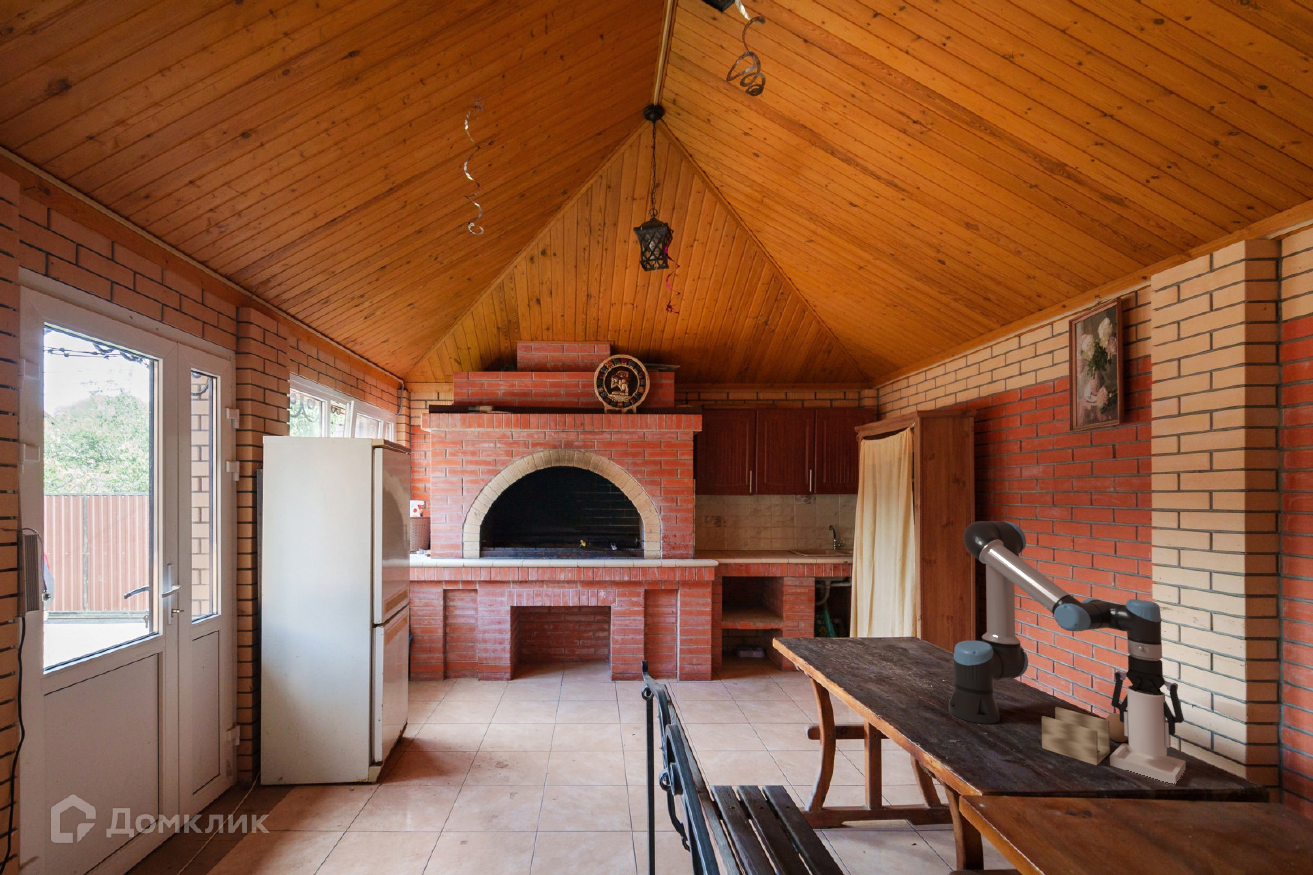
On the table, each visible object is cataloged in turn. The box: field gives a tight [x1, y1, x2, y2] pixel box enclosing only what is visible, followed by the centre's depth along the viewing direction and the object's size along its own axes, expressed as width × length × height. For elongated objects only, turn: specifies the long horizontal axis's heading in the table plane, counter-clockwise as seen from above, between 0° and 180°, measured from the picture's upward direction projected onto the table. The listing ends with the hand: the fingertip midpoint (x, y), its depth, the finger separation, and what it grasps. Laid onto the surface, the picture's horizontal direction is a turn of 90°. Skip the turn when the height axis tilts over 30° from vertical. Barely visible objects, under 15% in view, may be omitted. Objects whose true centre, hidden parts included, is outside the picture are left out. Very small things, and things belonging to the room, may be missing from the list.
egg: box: [1105, 712, 1129, 743], centre depth 184 cm, size 6×6×8 cm
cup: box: [1126, 685, 1168, 756], centre depth 167 cm, size 8×8×16 cm
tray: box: [1109, 742, 1187, 784], centre depth 166 cm, size 14×14×2 cm
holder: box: [1041, 706, 1111, 766], centre depth 176 cm, size 13×13×9 cm
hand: (1147, 740), depth 167 cm, fingers closed on cup, 8 cm apart
